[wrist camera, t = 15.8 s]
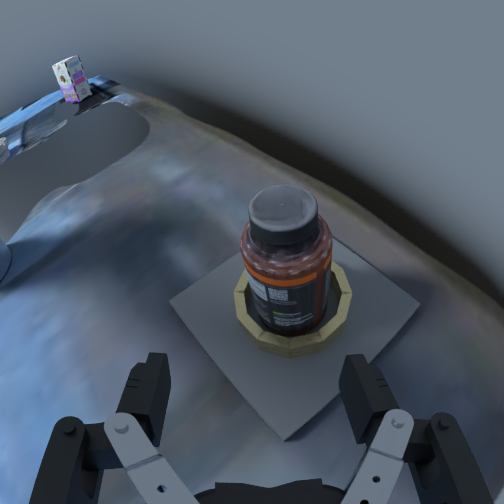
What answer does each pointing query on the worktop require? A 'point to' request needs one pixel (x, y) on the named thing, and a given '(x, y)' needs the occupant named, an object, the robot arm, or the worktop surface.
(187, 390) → the worktop surface
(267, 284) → the supplement bottle
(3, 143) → the flag stand
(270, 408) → the grey square plate
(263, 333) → the brass collar
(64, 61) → the candy box
